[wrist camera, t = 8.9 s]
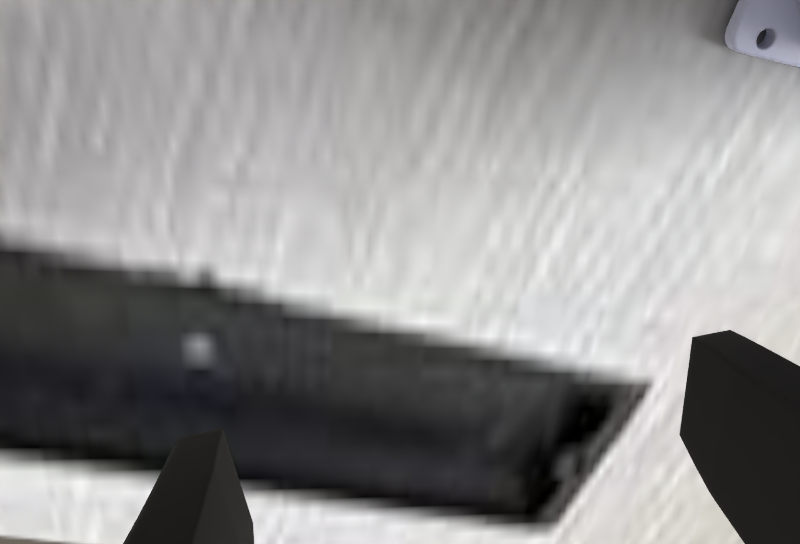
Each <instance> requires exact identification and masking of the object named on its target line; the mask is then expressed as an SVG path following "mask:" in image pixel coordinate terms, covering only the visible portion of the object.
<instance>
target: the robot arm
mask: <svg viewBox="0 0 800 544" xmlns="http://www.w3.org/2000/svg"><path fill="white" fill-rule="evenodd" d="M765 29H766V31H767V33H766V37H765V39H764V40H763V42H762V43H760V44H758V45H757V44H756V40H757V36H758V35H759V34H760V32H761V31H763V30H765ZM725 43H726V44H727V46H728V47H729V48H730V49H732V50H734V51H736V52H738V53H741V54H745V55H749V56H753V57H758V58H762V59H766V60H770V61H774V62H778V63H782V64H787V65H791V66H795V67H799V68H800V0H739V1H738V3H737V6H736V8H735V10H734V12H733V15H732V17H731V19H730V21H729V24H728V26H727V28H726V32H725ZM680 437H681V438H682V440H683V442H684V444H685V446H686V448H687V450H688V452H689V454H690V456H691V458H692V460H693V462H694V464H695V466H696V468H697V470H698V472H699V474H700V475H701V477H702V479H703V481H704V483H705V485H706V486H707V488H708V490H709V492H710V494H711V495H712V497H713V498H714V500H715V501H716V502H717V504H718V505H719V507H720V508H721V510H722V511H723V513H724V514H725V516H726V517H727V519H728V520H729V521H730V523H731V524H732V526H733V527H734V529H735V530H736V531H737V533H738V534H739V536H740V537H741V539H742V540H743V542H744V543H745V544H800V366H798V365H796V364H794V363H792V362H791V361H789V360H787V359H785V358H783V357H781V356H780V355H778V354H776V353H774V352H772V351H770V350H768V349H767V348H765V347H763V346H761V345H759V344H757V343H755V342H753V341H751V340H749V339H747V338H746V337H744V336H741V335H739V334H737V333H735V332H733V331H731V330H728V331H722V332H717V333H712V334H707V335H702V336H697V337H692V345H691V353H690V360H689V368H688V375H687V383H686V391H685V398H684V406H683V414H682V421H681V429H680ZM123 544H254V534H253V522H252V519H251V515H250V512H249V509H248V506H247V503H246V500H245V497H244V494H243V491H242V488H241V485H240V481H239V478H238V475H237V472H236V469H235V466H234V463H233V460H232V457H231V454H230V450H229V447H228V444H227V441H226V438H225V435H224V432H223V429H218V430H212V431H207V432H202V433H197V434H192V435H187V436H182V437H180V438H179V439H178V440H177V442H176V443H175V444H174V446H173V448H172V451H171V453H170V455H169V457H168V459H167V461H166V463H165V465H164V467H163V469H162V471H161V473H160V475H159V477H158V479H157V481H156V483H155V485H154V487H153V489H152V491H151V493H150V495H149V497H148V499H147V501H146V503H145V505H144V507H143V508H142V510H141V512H140V514H139V516H138V518H137V520H136V522H135V523H134V525H133V527H132V529H131V531H130V532H129V534H128V536H127V538H126V540H125V541H124V543H123Z"/></svg>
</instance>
